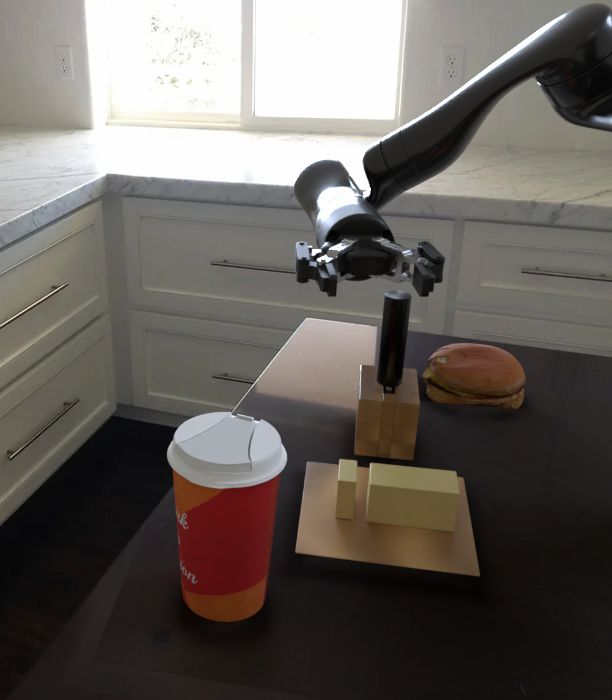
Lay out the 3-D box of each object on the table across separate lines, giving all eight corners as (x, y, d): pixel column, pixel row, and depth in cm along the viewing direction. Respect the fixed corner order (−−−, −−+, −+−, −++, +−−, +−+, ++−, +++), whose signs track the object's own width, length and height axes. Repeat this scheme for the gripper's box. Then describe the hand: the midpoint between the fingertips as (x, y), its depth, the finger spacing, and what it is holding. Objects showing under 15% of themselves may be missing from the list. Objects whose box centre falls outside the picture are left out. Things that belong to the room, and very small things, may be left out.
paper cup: (197, 562, 66) (198, 398, 60) (294, 592, 62) (304, 422, 57) (148, 627, 59) (144, 451, 54) (253, 665, 56) (260, 482, 50)
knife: (393, 444, 81) (411, 289, 74) (394, 461, 78) (412, 301, 72) (369, 442, 81) (384, 287, 75) (369, 458, 79) (384, 300, 72)
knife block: (408, 435, 82) (416, 368, 79) (411, 474, 76) (420, 404, 73) (354, 430, 83) (360, 364, 80) (353, 468, 77) (359, 398, 74)
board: (461, 492, 73) (463, 477, 73) (477, 592, 62) (480, 576, 61) (306, 475, 76) (307, 461, 76) (294, 568, 65) (295, 552, 64)
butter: (450, 508, 69) (456, 471, 67) (454, 532, 66) (460, 493, 64) (366, 499, 70) (370, 462, 69) (366, 522, 67) (370, 484, 66)
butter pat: (354, 497, 70) (357, 460, 69) (353, 520, 68) (356, 482, 66) (336, 495, 71) (339, 458, 69) (334, 518, 68) (338, 480, 66)
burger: (542, 406, 87) (550, 364, 85) (467, 425, 84) (473, 382, 82) (474, 368, 95) (480, 329, 93) (403, 384, 92) (407, 344, 90)
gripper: (288, 203, 94) (304, 249, 80) (421, 202, 93) (462, 248, 79) (285, 268, 97) (300, 324, 83) (414, 268, 97) (452, 324, 82)
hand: (379, 287), depth 81 cm, fingers open, 8 cm apart
